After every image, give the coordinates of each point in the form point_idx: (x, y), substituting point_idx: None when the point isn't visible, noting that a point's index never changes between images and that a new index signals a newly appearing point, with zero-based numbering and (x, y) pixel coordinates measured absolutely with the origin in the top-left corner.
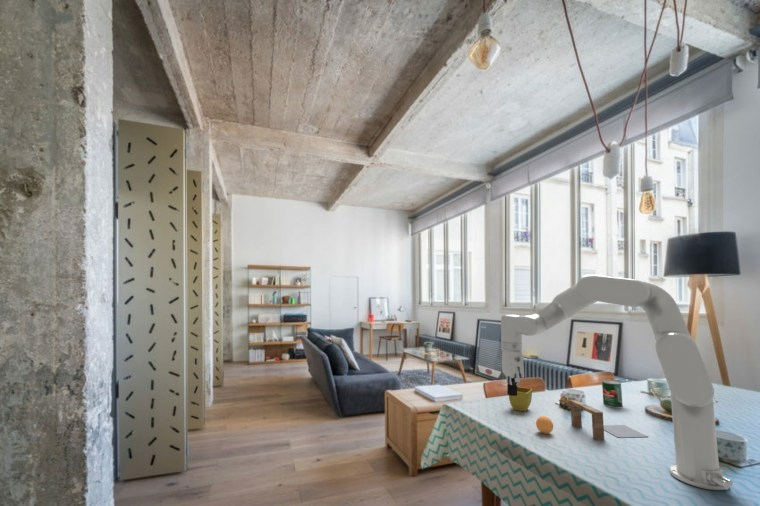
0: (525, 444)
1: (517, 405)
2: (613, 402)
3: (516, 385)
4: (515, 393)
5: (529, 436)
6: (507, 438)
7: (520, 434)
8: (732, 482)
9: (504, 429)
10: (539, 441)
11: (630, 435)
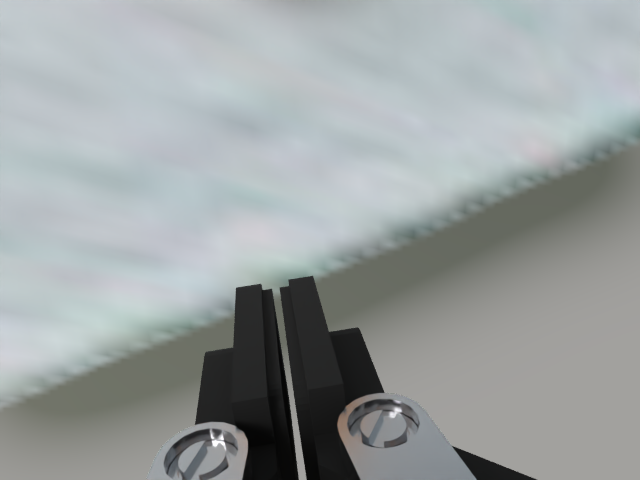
0: (474, 156)
1: None
2: None
3: (338, 387)
4: (357, 331)
5: (321, 64)
6: (367, 251)
7: (282, 128)
8: None
9: (182, 226)
10: (424, 19)
11: None
